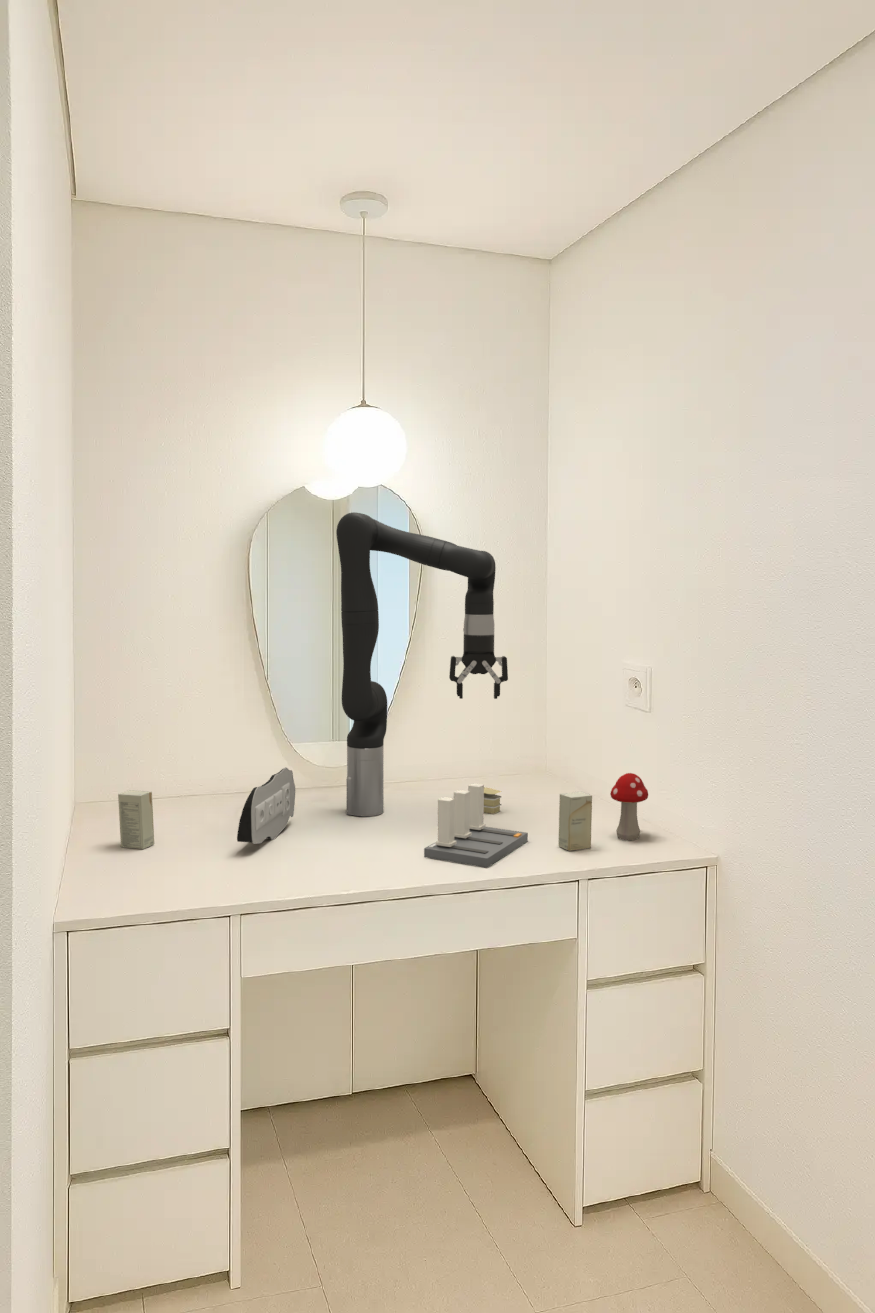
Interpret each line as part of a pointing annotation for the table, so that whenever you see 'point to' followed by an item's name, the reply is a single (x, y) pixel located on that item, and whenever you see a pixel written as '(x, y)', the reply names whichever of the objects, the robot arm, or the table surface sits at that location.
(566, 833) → the skincare box
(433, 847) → the board
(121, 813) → the skincare box
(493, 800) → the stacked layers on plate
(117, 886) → the table surface
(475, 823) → the post
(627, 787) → the decorative mushroom
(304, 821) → the table surface
